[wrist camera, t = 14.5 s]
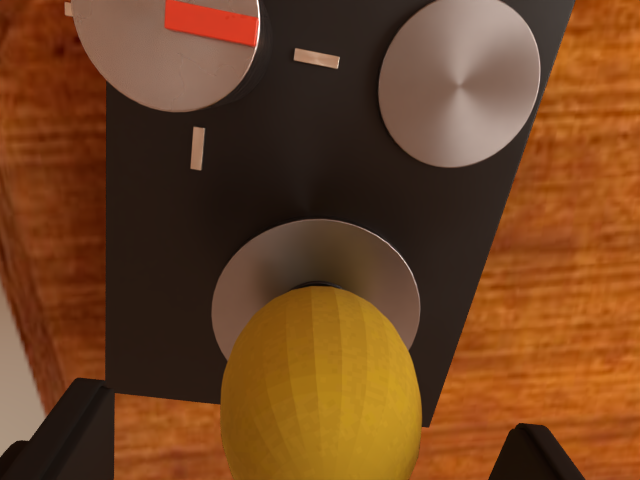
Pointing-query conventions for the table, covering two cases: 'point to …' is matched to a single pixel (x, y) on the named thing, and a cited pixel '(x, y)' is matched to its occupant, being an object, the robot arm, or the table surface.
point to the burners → (415, 140)
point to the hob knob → (177, 49)
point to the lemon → (320, 392)
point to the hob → (291, 193)
